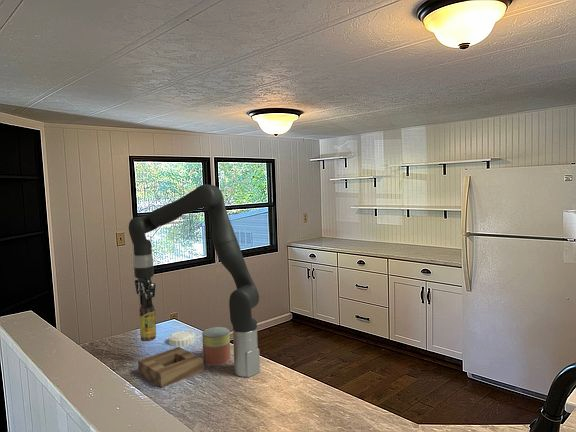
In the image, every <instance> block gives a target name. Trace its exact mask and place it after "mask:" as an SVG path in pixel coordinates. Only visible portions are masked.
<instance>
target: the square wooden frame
mask: <svg viewBox="0 0 576 432" xmlns="http://www.w3.org/2000/svg"><path fill="white" fill-rule="evenodd" d="M137 367H138V368H137V369H138V373H139V374H140V375H141V376H143V377H144V378H146V379H147V380H149V381H150V382H152V383H153V384H155V385H157V386H158V387H160V388H165V387H167V386H169V385H173V384H174V383H177V382H179V381H182V380H185V379H186V378H187V379H188V378H190V377H192V376H195V375H197V374H199V373H200V374H201V373H202V372H204V362H203V357H200V356H199V355H196V354H194V353H192V352H190V351H188V350H186V349H184V348H182V347H175V348H172V349H169V350H165V351H162V352H159V353H157V354H153V355H149V356H148V357H144V358H141V359H139V360H137Z"/></svg>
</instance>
